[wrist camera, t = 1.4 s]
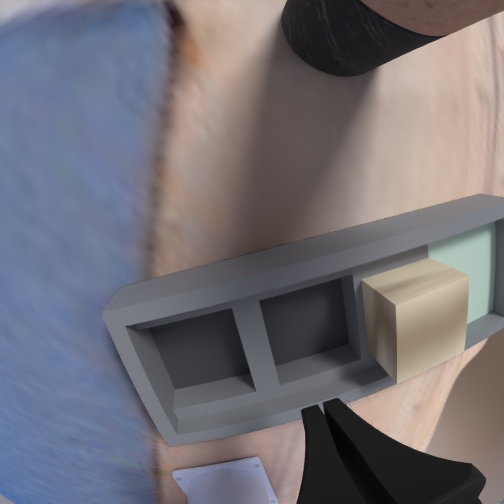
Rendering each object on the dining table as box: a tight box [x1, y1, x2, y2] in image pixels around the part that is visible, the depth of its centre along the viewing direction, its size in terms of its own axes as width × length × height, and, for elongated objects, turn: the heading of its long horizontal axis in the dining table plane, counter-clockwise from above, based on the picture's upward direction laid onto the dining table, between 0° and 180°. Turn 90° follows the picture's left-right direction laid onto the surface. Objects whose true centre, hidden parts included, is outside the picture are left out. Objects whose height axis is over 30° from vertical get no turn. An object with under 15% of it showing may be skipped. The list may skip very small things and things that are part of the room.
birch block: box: [361, 257, 469, 384], centre depth 17 cm, size 5×5×4 cm
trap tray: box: [101, 194, 504, 447], centre depth 19 cm, size 10×27×4 cm, turn 103°
